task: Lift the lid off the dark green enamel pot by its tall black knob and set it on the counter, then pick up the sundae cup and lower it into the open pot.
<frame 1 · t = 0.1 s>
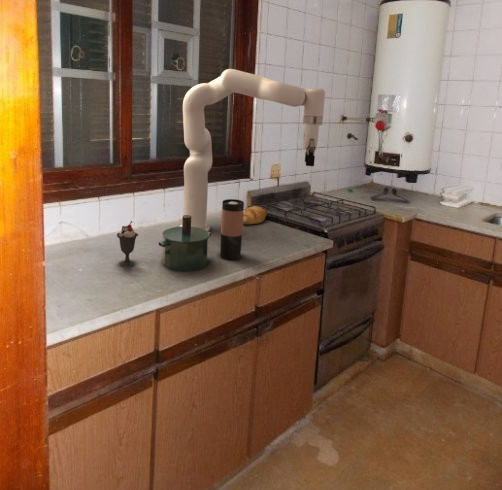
hand: (309, 163, 174), 31 cm above the worktop, tool pointing down, fingers open, 9 cm apart
pot: (185, 262, 148), on the worktop
travel mug: (230, 256, 156), on the worktop
lid: (186, 235, 146), point 9 cm above the worktop, touching pot
bread loaf: (253, 221, 200), on the worktop
sundae: (127, 264, 144), on the worktop
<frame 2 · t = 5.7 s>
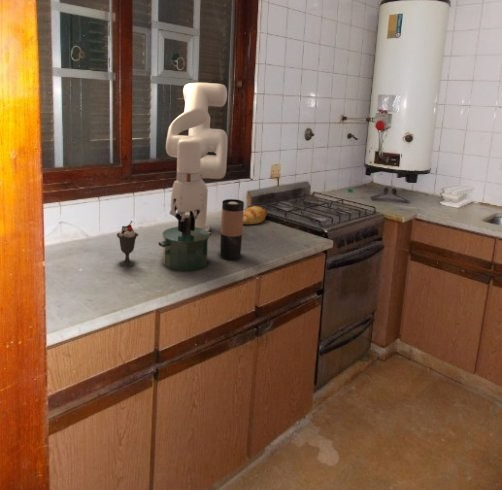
hand: (186, 230, 146), 11 cm above the worktop, tool pointing down, fingers closed on lid, 3 cm apart
lid: (186, 235, 146), point 10 cm above the worktop, touching gripper, pot
everything else where it was.
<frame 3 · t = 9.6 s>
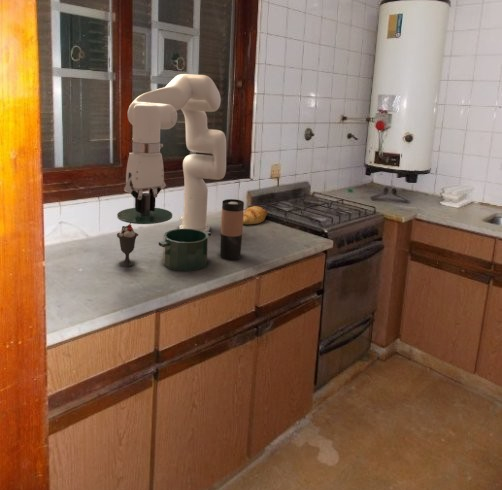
hand: (145, 210, 127), 22 cm above the worktop, tool pointing down, fingers closed on lid, 3 cm apart
lid: (145, 216, 127), point 20 cm above the worktop, touching gripper
everything else where it was.
when the fingers open (2 cm above the worktop, at t = 14.0 s): lid stays where it is, point 1 cm above the worktop.
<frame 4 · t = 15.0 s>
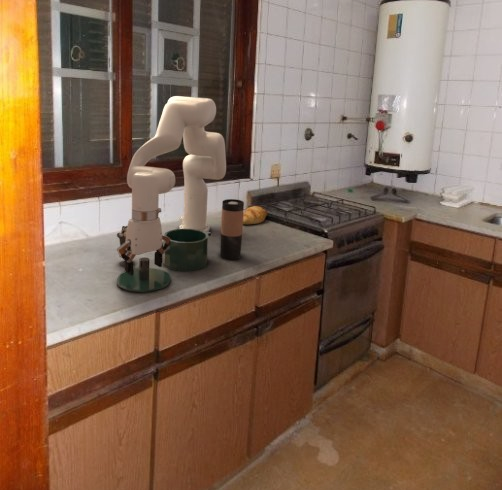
hand: (144, 269, 131), 4 cm above the worktop, tool pointing down, fingers open, 9 cm apart
lid: (144, 280, 131), point 1 cm above the worktop
everything else where it was.
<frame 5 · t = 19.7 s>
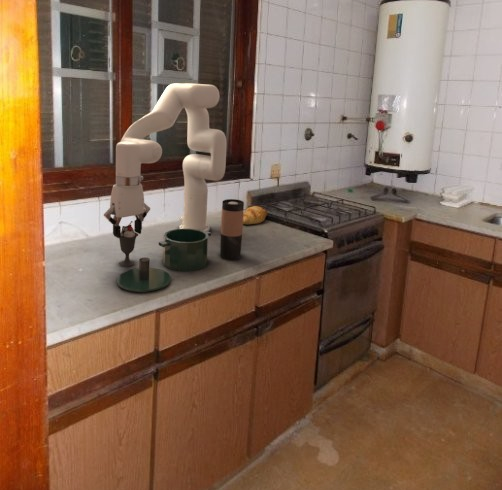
hand: (127, 234, 142), 10 cm above the worktop, tool pointing down, fingers closed on sundae, 6 cm apart
sundae: (127, 264, 144), on the worktop, touching gripper
everything else where it was.
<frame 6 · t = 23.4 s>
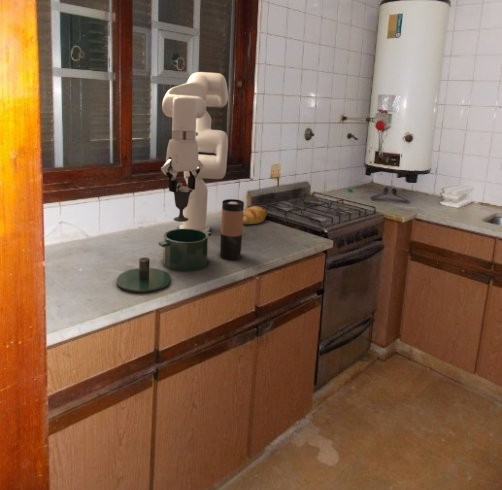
hand: (182, 189, 143), 25 cm above the worktop, tool pointing down, fingers closed on sundae, 6 cm apart
sundae: (181, 220, 145), point 15 cm above the worktop, touching gripper
everything else where it was.
when the fingers open (11 cm above the worktop, at t = 27.3 s): sundae stays where it is, resting on pot.
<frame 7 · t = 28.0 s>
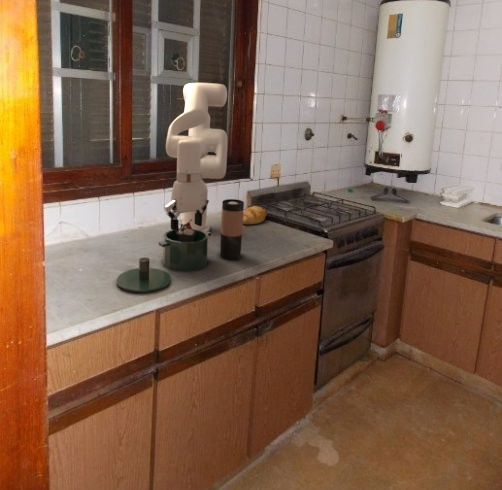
hand: (186, 227, 146), 12 cm above the worktop, tool pointing down, fingers open, 9 cm apart
sundae: (185, 261, 148), resting on pot
everything else where it was.
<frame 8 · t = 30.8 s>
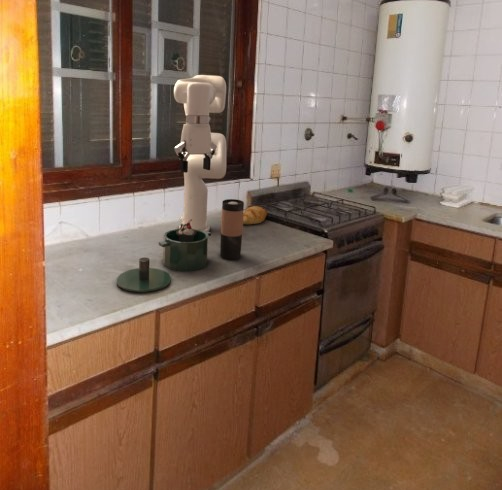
hand: (195, 170, 149), 30 cm above the worktop, tool pointing down, fingers open, 9 cm apart
nothing on the worktop moved.
at the end: sundae inside the target area in the pot (0.1 cm from its centre), point 0.3 cm above the pot's base; sundae tilted 0°; lid inside the target area (0.0 cm from its centre), point 0.6 cm above the worktop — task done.
